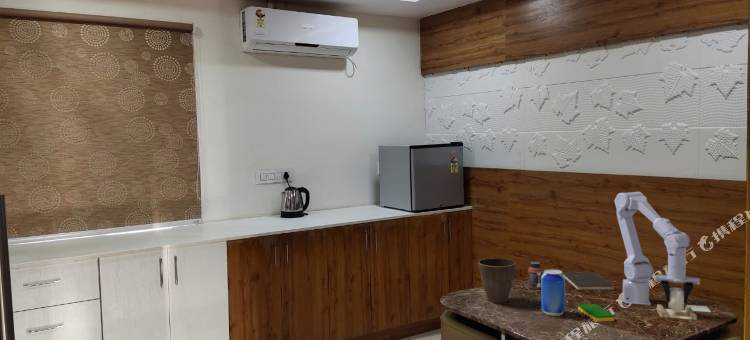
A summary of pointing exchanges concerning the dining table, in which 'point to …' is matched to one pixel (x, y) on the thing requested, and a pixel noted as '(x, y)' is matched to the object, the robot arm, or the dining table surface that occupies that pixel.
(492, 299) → the plant pot
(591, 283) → the hardcover book
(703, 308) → the mat
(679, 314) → the cradle
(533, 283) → the supplement bottle
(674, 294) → the white domed cylinder
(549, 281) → the beer can
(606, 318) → the dish sponge
